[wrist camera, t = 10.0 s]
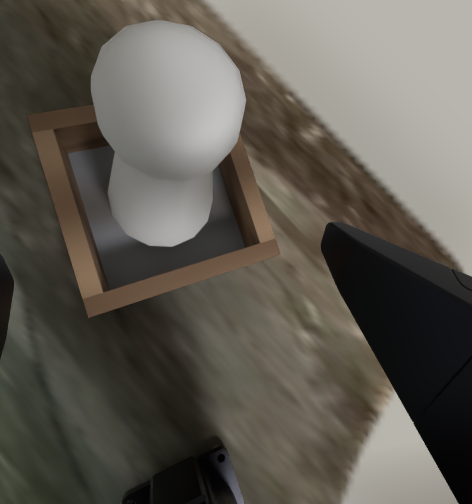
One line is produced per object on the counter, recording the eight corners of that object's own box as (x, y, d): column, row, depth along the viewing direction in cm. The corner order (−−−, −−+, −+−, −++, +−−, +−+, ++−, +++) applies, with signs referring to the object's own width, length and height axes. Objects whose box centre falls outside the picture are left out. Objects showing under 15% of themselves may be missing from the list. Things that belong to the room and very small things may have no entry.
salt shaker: (95, 224, 19) (-10, 99, 7) (141, 149, 21) (122, -71, 8) (182, 267, 20) (226, 225, 8) (220, 193, 22) (310, 55, 9)
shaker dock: (261, 260, 22) (280, 254, 19) (100, 313, 19) (88, 318, 16) (212, 115, 23) (223, 84, 19) (48, 145, 20) (26, 114, 16)
